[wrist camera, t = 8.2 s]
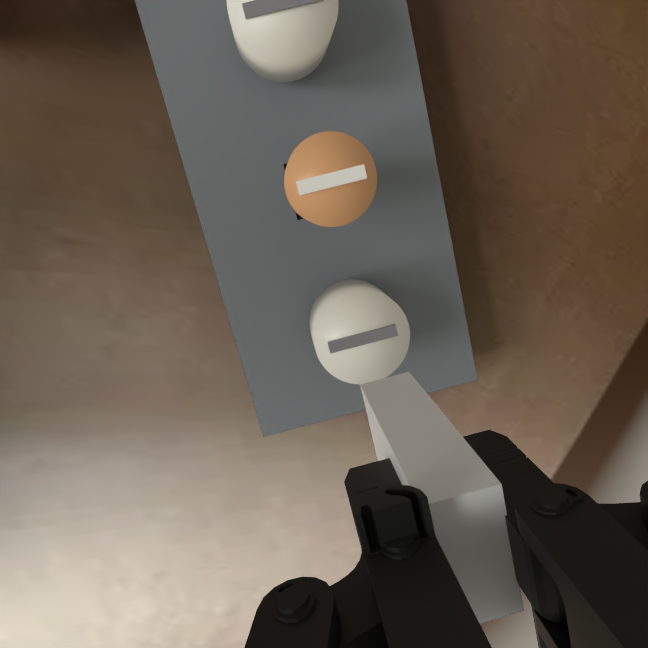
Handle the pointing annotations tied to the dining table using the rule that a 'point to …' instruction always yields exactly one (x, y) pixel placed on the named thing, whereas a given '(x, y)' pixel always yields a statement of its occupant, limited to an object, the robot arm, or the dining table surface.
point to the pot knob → (330, 179)
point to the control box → (280, 219)
